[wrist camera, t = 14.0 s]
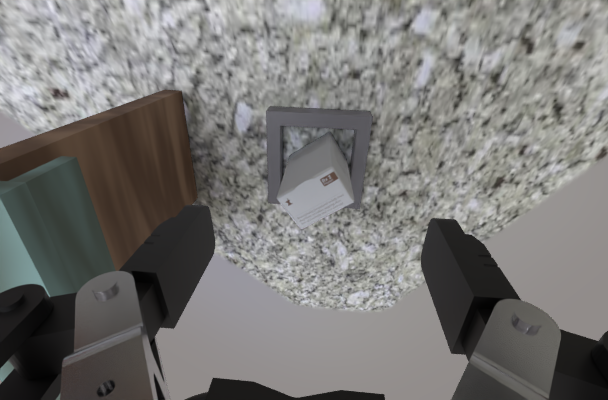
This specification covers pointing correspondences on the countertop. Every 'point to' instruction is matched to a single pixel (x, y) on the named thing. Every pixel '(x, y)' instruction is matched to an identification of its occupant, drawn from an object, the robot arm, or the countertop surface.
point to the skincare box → (316, 182)
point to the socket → (319, 119)
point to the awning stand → (91, 194)
